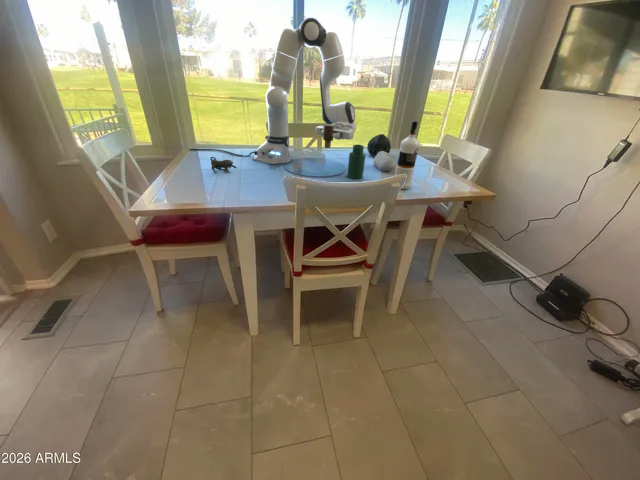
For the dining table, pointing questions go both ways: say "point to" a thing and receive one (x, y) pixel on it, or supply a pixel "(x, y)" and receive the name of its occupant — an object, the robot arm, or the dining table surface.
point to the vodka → (408, 156)
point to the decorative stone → (384, 161)
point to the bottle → (356, 163)
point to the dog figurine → (221, 164)
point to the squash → (379, 144)
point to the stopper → (328, 134)
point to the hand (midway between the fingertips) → (327, 134)
